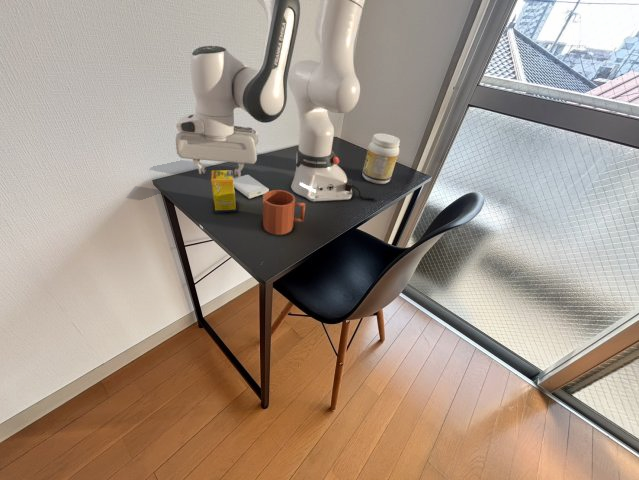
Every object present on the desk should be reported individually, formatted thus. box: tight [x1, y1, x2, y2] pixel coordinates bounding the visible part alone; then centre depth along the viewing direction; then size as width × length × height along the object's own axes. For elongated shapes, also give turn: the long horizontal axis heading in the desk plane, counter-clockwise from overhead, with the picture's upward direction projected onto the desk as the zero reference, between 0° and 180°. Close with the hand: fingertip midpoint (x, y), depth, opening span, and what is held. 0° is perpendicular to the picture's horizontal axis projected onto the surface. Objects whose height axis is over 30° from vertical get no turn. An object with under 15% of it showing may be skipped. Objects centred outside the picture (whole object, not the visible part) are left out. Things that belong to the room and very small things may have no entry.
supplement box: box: [210, 169, 237, 214], centre depth 81 cm, size 6×6×11 cm
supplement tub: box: [361, 132, 401, 185], centre depth 109 cm, size 12×12×17 cm
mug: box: [262, 189, 306, 236], centre depth 77 cm, size 12×9×10 cm
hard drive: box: [233, 174, 270, 199], centre depth 95 cm, size 2×8×12 cm
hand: (220, 174), depth 77 cm, fingers open, 8 cm apart
